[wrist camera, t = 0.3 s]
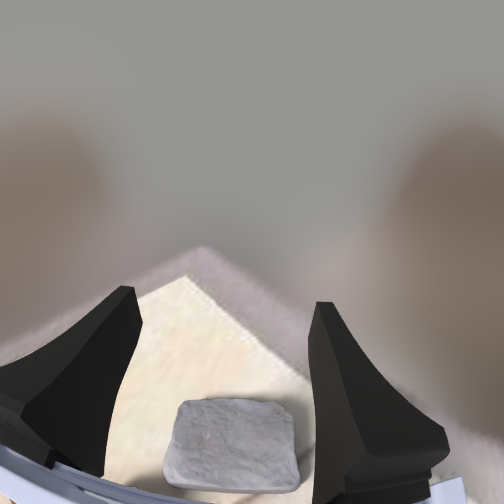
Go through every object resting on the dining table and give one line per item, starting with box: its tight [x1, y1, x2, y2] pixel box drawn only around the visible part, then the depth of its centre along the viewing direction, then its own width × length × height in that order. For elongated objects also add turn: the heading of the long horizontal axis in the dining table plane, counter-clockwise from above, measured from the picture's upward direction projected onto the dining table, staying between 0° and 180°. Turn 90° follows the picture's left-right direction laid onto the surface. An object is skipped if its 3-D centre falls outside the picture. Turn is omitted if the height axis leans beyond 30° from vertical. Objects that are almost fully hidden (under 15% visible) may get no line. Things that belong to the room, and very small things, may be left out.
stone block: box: [163, 398, 301, 494], centre depth 24 cm, size 12×5×10 cm
